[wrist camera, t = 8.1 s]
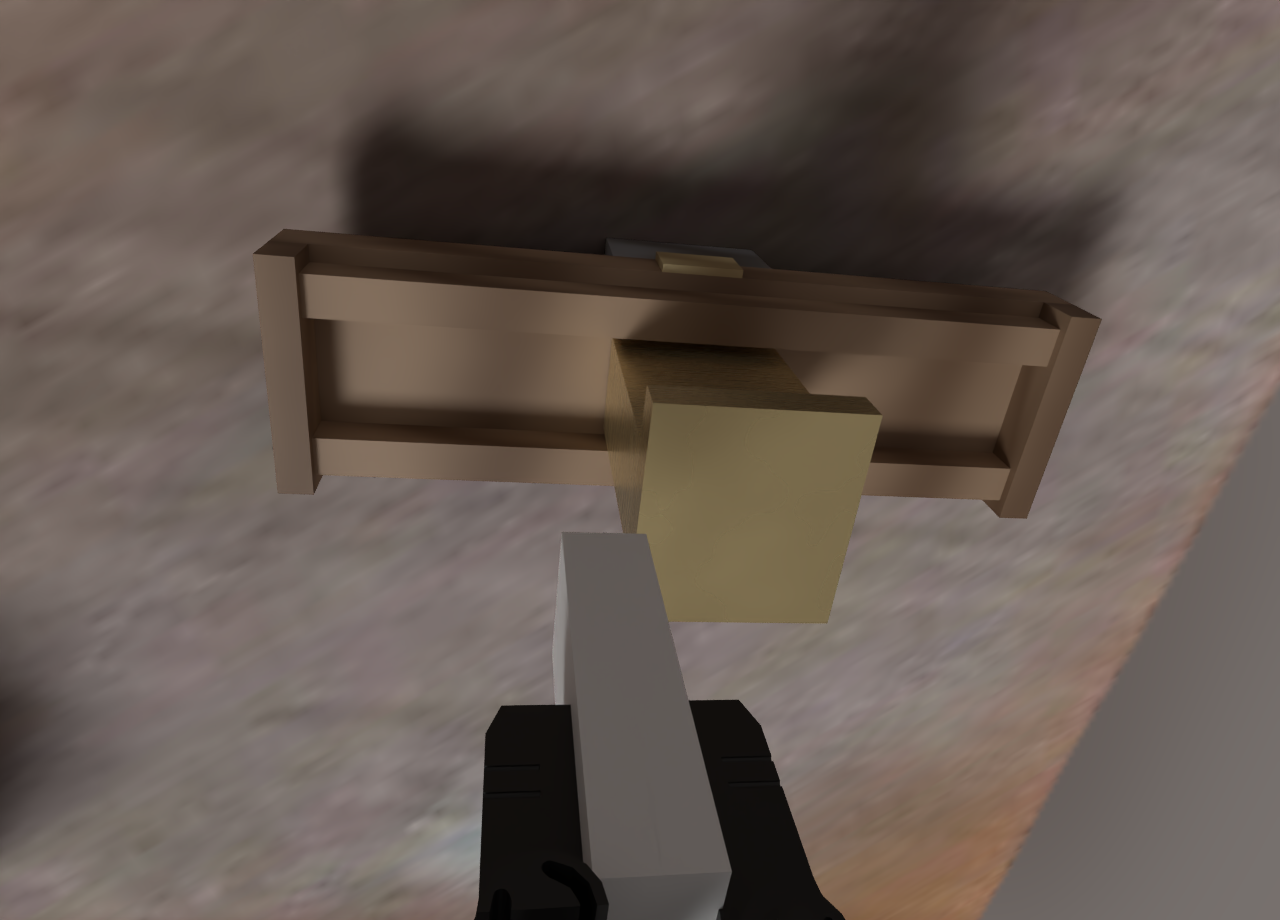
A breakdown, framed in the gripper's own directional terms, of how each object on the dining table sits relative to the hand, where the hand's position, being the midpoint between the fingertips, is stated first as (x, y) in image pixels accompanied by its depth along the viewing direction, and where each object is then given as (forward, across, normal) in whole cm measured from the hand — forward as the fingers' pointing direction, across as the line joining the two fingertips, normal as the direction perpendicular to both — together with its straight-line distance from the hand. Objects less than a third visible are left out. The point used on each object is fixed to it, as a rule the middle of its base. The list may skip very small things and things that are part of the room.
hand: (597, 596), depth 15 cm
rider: (+11, +4, 0) cm, 12 cm away
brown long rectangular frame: (+15, +4, 0) cm, 16 cm away
